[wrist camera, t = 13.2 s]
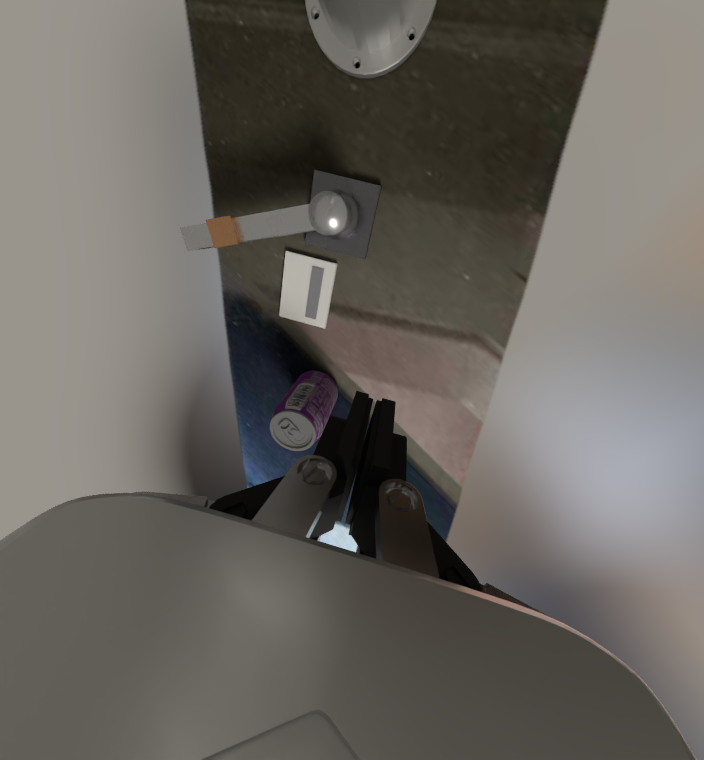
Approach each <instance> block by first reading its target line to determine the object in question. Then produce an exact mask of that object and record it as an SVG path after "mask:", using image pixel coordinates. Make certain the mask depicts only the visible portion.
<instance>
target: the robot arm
mask: <svg viewBox="0 0 704 760" xmlns="http://www.w3.org/2000/svg"><path fill="white" fill-rule="evenodd" d="M436 3H437V0H305V6H306V11H307V15H308V19H309V23H310V26H311V28H312V31H313V34H314V36H315V39H316V40H317V42H318V44H319V46H320V48H321V50H322V51H323V53H324V54H325V55H326V57H327V58H328V60H329V61H330V62H331V63H332V64H334V65H335V66H336V67H337V68H338V69H339V70H341V71H343V72H344V73H346V74H348V75H351V76H354V77H358V78H374V77H378V76H382V75H384V74H386V73H388V72H390V71H392V70H394V69H395V68H397V67H398V66H399V65H400V64H402V63H403V62H404V61H405V60H406V59H407V58H408V57H409V56H410V55H411V54H412V52H413V51H414V50H415V49H416V47H417V46H418V44H419V43H420V41H421V39H422V38H423V36H424V34H425V32H426V30H427V28H428V26H429V24H430V21H431V19H432V16H433V13H434V9H435V6H436ZM317 16H319V18H318V19H316V17H317ZM315 19H316V20H315ZM411 36H414V39H413V40H409V38H410V37H411ZM357 64H360V67H359V68H357V69H356V65H357ZM368 397H369V394H366V393H362V392H359V391H356V394H355V397H354V400H353V403H352V407H351V410H350V413H349V416H348V419H347V420H345V419H342V418H338V417H335V416H330V417H329V419H328V422H327V424H326V426H325V429H324V431H323V433H322V436H321V438H320V440H319V443H318V445H317V447H316V450H315V452H314V454H313V455H308V456H304V457H302V458H300V459H298V460H297V461H296V462H295V463H294V465H293V466H292V467H291V469H290V470H289V471H288V473H287V474H286V475H285V476H283V477H280V478H277V479H274V480H271V481H268V482H265V483H262V484H259V485H256V486H253V487H250V488H247V489H245V490H241V491H239V492H235V493H232V494H230V495H227V496H224V497H222V498H220V499H217V500H216V501H208V497H201V496H190V495H178V494H166V493H154V492H135V493H115V494H99V495H92V496H86V497H81V498H77V499H74V500H71V501H67V502H65V503H62V504H60V505H58V506H55V507H53V508H51V509H49V510H48V511H46V512H44V513H42V514H40V515H39V516H37V517H35V518H34V519H32V520H30V521H29V522H27V523H26V524H24V525H23V526H21V527H20V528H18V529H17V530H15V531H14V532H12V533H11V534H9V535H8V536H6V537H5V538H4V539H2V540H1V541H0V760H697V758H696V757H695V755H694V753H693V752H692V750H691V748H690V747H689V745H688V743H687V742H686V740H685V738H684V737H683V735H682V733H681V732H680V730H679V728H678V727H677V725H676V724H675V722H674V721H673V719H672V718H671V716H670V715H669V713H668V712H667V710H666V709H665V707H664V706H663V704H662V703H661V702H660V700H659V699H658V698H657V696H656V695H655V694H654V692H653V691H652V690H651V689H650V688H649V686H648V685H647V684H646V683H645V682H644V681H643V680H642V679H641V678H640V677H639V676H638V675H637V674H636V673H635V672H634V671H633V670H632V669H631V668H630V667H628V666H627V665H626V664H625V663H624V662H622V661H621V660H620V659H619V658H617V657H616V656H615V655H613V654H612V653H611V652H609V651H608V650H606V649H605V648H604V647H602V646H600V645H599V644H598V643H596V642H595V641H593V640H592V639H590V638H589V637H587V636H585V635H584V634H582V633H580V632H578V631H576V630H575V629H573V628H571V627H569V626H567V625H566V624H564V623H562V622H559V621H557V620H555V619H553V618H551V617H550V616H548V615H546V614H544V613H542V612H540V611H538V610H537V609H535V608H533V607H531V606H529V605H527V604H525V603H523V602H521V601H520V600H518V599H516V598H514V597H512V596H511V595H509V594H506V593H505V592H503V591H501V590H499V589H497V588H495V587H494V586H492V585H490V584H488V583H486V584H485V585H482V584H480V583H479V581H478V580H477V578H476V577H475V575H474V574H473V572H472V571H471V570H470V569H469V568H468V567H467V566H466V564H465V563H464V562H463V561H462V560H461V559H460V558H459V556H458V555H457V554H456V553H455V552H454V551H453V550H452V549H451V548H450V546H449V545H448V544H447V543H446V542H445V541H444V540H443V539H442V537H441V536H440V535H439V534H438V533H437V532H436V531H435V530H434V528H433V527H432V526H431V525H430V524H429V523H428V522H427V518H426V514H425V509H424V505H423V500H422V498H421V495H420V493H419V492H418V491H417V489H416V488H414V487H413V486H412V485H411V484H409V483H407V482H406V454H407V438H406V437H405V436H401V435H398V434H394V433H393V427H394V415H395V402H394V401H391V400H387V399H384V398H383V399H382V401H378V400H377V401H376V405H375V408H374V411H373V414H372V418H371V421H370V424H369V427H368V431H367V434H366V429H367V425H368V420H369V416H370V411H371V406H372V402H373V399H371V398H368ZM365 434H366V437H365ZM364 439H365V441H364ZM363 443H364V444H363ZM356 471H357V472H356ZM355 474H356V477H355ZM354 478H355V481H354ZM353 481H354V486H353V490H352V495H351V499H350V504H349V509H348V513H347V518H346V524H350V525H351V526H350V531H349V535H352V537H353V538H354V540H355V541H356V543H357V545H358V546H357V550H356V553H355V552H352V551H349V550H346V549H342V548H339V547H336V546H333V545H329V544H326V543H323V542H320V541H319V540H320V536H321V535H322V534H324V533H326V532H328V531H330V530H332V529H333V527H334V524H335V521H340V522H341V520H342V516H343V513H344V510H345V507H346V504H347V500H348V497H349V494H350V491H351V487H352V484H353Z"/></svg>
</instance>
